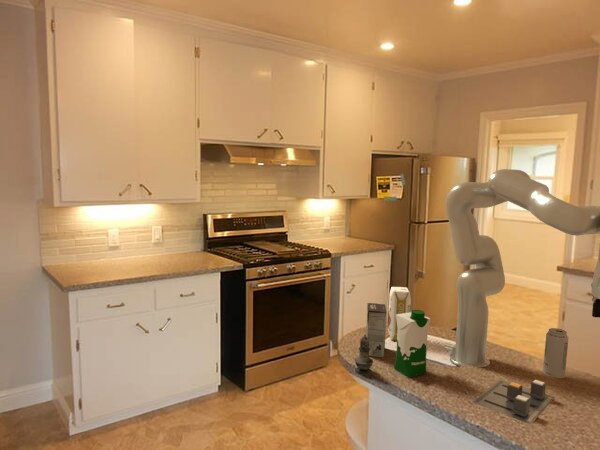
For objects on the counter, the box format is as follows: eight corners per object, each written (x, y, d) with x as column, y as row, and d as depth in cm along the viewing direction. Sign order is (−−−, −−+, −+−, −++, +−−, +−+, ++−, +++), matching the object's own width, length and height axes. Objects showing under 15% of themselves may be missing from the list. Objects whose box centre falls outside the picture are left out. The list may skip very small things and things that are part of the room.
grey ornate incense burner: (350, 368, 144) (352, 332, 142) (366, 366, 146) (368, 330, 145) (360, 376, 138) (361, 338, 137) (376, 373, 141) (378, 336, 139)
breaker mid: (505, 398, 124) (507, 384, 123) (510, 394, 126) (511, 380, 126) (517, 402, 122) (518, 388, 121) (522, 397, 124) (523, 384, 124)
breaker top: (529, 395, 125) (530, 382, 125) (533, 391, 128) (535, 378, 128) (541, 399, 123) (542, 386, 123) (545, 395, 126) (546, 382, 126)
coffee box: (365, 346, 163) (367, 302, 162) (383, 347, 163) (385, 303, 161) (365, 355, 154) (367, 310, 153) (384, 357, 154) (386, 311, 152)
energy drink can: (543, 371, 146) (547, 326, 144) (564, 375, 143) (569, 329, 141) (542, 378, 140) (546, 331, 139) (564, 383, 137) (568, 335, 136)
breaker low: (512, 412, 116) (513, 398, 116) (517, 407, 119) (518, 393, 118) (524, 417, 114) (526, 402, 114) (529, 411, 117) (530, 397, 116)
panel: (471, 406, 122) (471, 401, 122) (499, 383, 136) (500, 379, 136) (530, 428, 112) (530, 424, 112) (554, 401, 126) (555, 397, 126)
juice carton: (406, 334, 177) (408, 286, 174) (409, 342, 168) (412, 292, 166) (386, 333, 177) (389, 285, 175) (389, 341, 169) (391, 291, 167)
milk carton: (408, 379, 137) (411, 315, 135) (389, 367, 145) (392, 307, 143) (430, 374, 141) (434, 312, 139) (411, 363, 149) (414, 304, 147)
